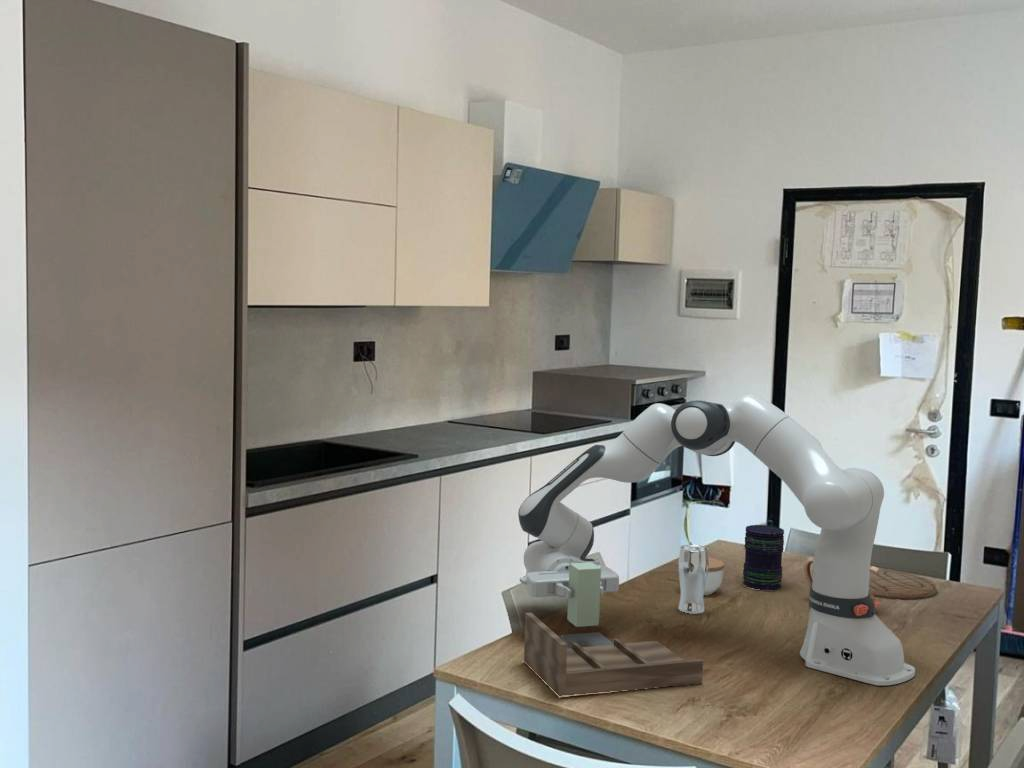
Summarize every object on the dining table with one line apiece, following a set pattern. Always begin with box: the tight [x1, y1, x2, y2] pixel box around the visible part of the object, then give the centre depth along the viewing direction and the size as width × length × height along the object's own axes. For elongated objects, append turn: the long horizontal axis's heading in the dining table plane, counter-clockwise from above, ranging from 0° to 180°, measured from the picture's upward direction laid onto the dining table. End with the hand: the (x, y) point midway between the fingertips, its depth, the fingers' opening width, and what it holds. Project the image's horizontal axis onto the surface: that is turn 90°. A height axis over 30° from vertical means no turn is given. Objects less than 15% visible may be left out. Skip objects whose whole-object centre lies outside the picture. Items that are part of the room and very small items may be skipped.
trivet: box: [869, 567, 937, 601], centre depth 265 cm, size 25×25×2 cm
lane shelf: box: [523, 612, 704, 696], centre depth 196 cm, size 19×29×10 cm, turn 109°
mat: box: [556, 631, 614, 649], centre depth 211 cm, size 12×13×1 cm
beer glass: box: [677, 544, 709, 615], centre depth 238 cm, size 7×7×15 cm
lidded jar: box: [703, 557, 725, 596], centre depth 254 cm, size 11×11×9 cm
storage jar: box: [742, 524, 785, 591], centre depth 261 cm, size 10×10×15 cm
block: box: [566, 562, 601, 628], centre depth 210 cm, size 5×5×12 cm
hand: (585, 593), depth 209 cm, fingers closed on block, 5 cm apart
